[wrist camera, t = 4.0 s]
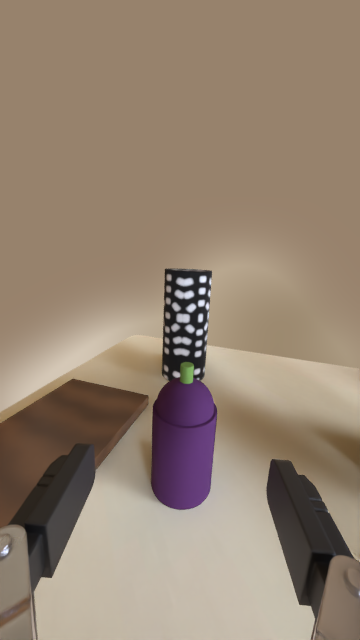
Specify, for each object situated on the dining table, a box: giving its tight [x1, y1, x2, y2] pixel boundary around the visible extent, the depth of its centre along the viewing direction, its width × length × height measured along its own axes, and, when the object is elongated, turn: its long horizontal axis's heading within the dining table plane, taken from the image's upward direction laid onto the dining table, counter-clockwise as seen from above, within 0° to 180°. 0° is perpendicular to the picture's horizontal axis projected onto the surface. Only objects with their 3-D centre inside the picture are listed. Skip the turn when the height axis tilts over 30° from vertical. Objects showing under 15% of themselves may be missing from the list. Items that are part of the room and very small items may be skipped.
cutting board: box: [0, 379, 148, 528], centre depth 30 cm, size 22×14×2 cm, turn 162°
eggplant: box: [151, 362, 217, 509], centre depth 24 cm, size 6×6×13 cm
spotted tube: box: [162, 269, 212, 381], centre depth 46 cm, size 8×8×20 cm
